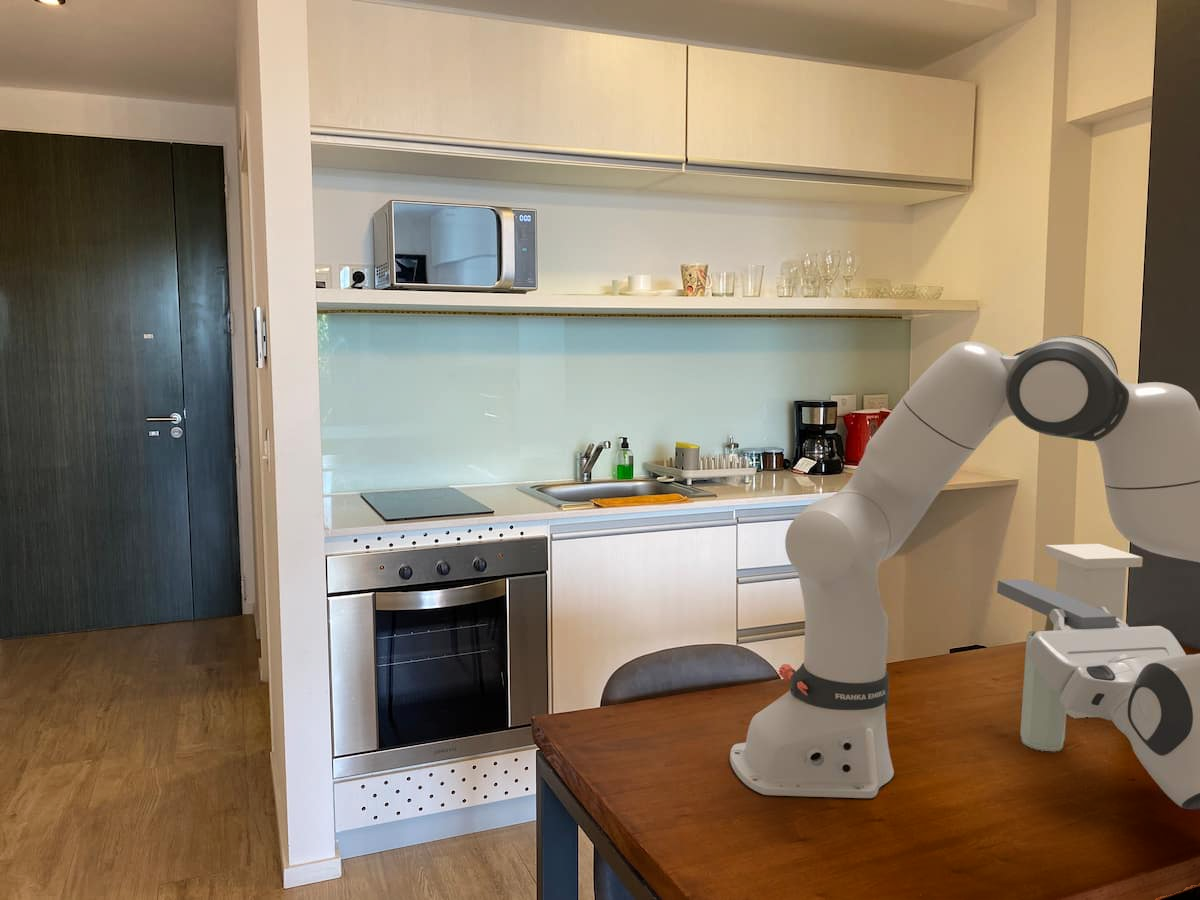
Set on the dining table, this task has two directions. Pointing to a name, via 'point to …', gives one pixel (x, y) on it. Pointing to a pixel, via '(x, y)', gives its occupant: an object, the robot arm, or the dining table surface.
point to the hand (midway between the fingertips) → (1075, 610)
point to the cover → (1055, 604)
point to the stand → (1093, 578)
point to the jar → (1041, 710)
